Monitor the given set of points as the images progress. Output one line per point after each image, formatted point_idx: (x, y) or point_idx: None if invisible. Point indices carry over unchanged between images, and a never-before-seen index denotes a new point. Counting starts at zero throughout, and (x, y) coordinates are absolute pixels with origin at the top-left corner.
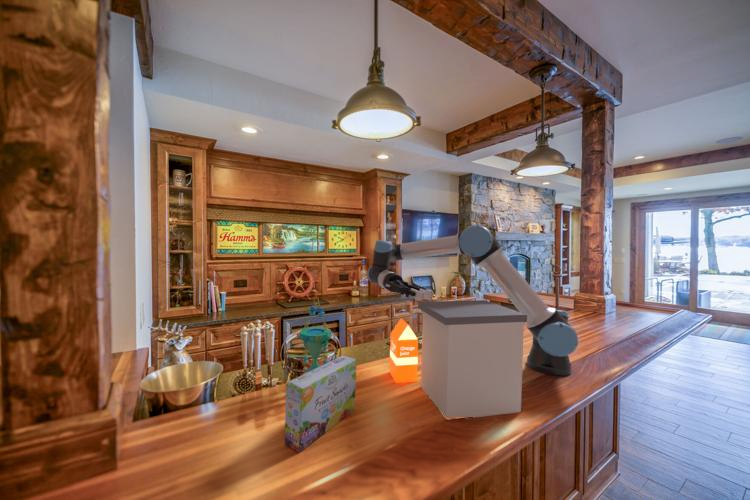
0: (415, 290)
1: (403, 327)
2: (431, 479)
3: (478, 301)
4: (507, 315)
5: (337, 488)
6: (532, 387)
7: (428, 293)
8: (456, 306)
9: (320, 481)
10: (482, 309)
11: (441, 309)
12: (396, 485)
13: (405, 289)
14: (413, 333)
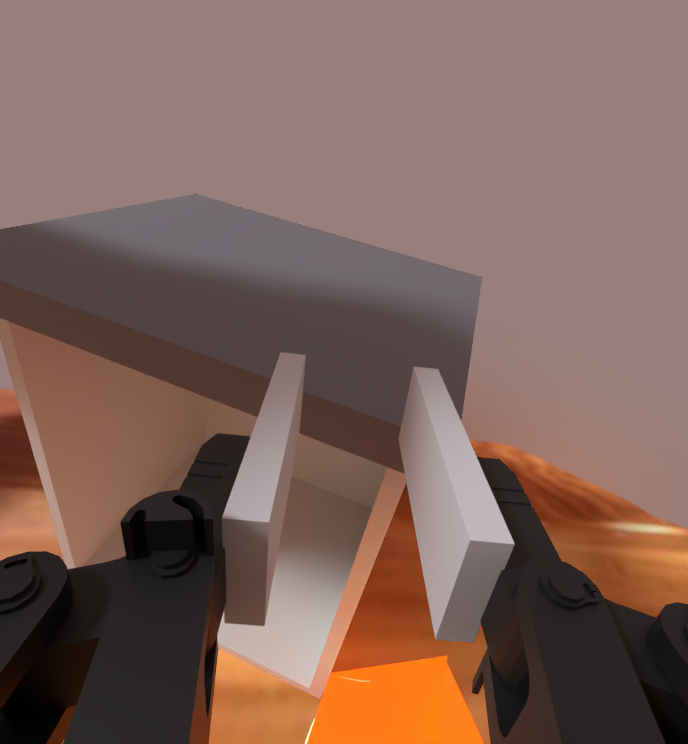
0: (468, 443)
1: (452, 741)
2: (489, 449)
3: (8, 259)
4: (261, 213)
5: (629, 506)
6: (11, 461)
7: (300, 389)
8: (296, 290)
9: (660, 529)
10: (245, 241)
11: (424, 305)
12: (541, 467)
13: (624, 623)
14: (368, 682)
